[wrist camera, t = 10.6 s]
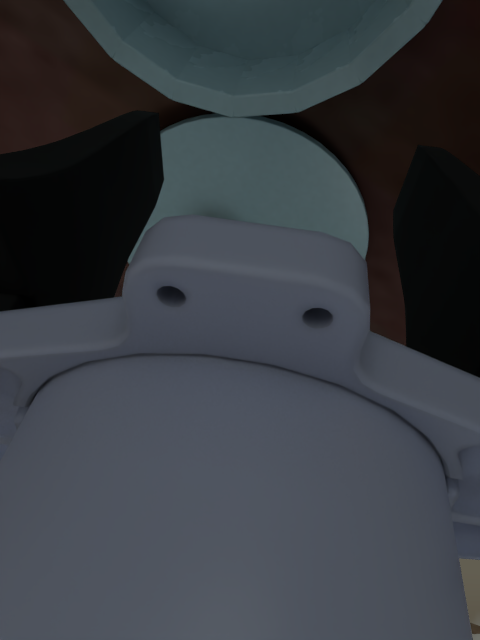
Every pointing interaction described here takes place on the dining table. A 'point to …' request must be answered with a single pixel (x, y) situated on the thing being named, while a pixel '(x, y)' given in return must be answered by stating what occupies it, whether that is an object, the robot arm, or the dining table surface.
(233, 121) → the pot lid
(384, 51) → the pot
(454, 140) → the dining table surface
